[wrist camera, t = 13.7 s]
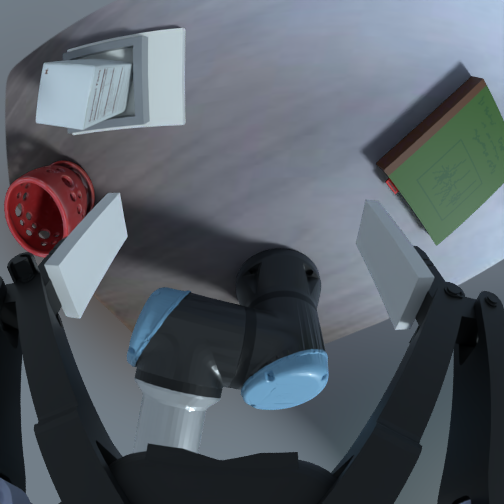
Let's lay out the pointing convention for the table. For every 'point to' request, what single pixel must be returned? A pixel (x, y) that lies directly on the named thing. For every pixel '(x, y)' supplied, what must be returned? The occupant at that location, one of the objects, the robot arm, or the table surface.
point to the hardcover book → (450, 160)
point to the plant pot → (48, 204)
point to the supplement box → (83, 92)
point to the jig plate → (144, 77)
